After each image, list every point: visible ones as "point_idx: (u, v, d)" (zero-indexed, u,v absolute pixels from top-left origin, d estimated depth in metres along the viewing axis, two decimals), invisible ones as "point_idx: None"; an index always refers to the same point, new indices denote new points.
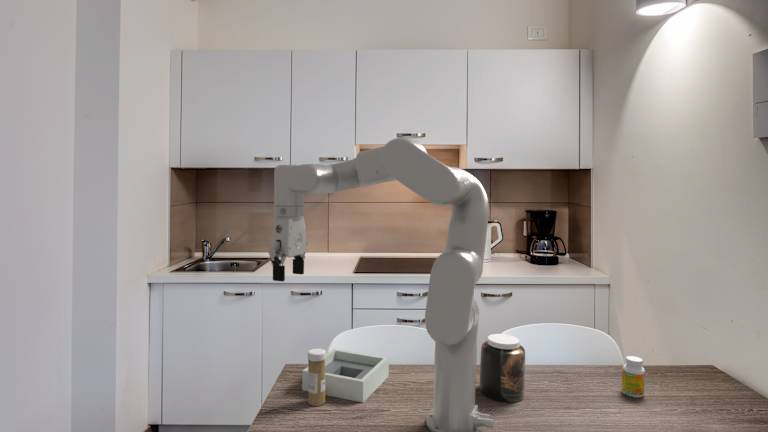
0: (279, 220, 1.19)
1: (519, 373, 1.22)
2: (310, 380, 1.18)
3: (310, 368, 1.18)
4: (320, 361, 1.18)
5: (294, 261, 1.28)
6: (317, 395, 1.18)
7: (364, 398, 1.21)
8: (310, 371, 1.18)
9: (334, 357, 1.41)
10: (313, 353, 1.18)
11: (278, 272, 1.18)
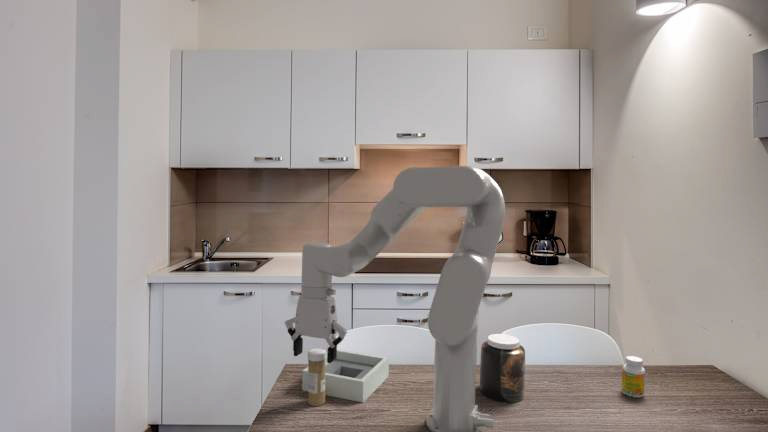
0: (331, 301, 1.17)
1: (519, 373, 1.22)
2: (310, 380, 1.18)
3: (310, 368, 1.18)
4: (320, 361, 1.18)
5: (297, 342, 1.20)
6: (317, 395, 1.18)
7: (364, 398, 1.21)
8: (310, 371, 1.18)
9: None
10: (313, 353, 1.18)
11: (336, 352, 1.18)
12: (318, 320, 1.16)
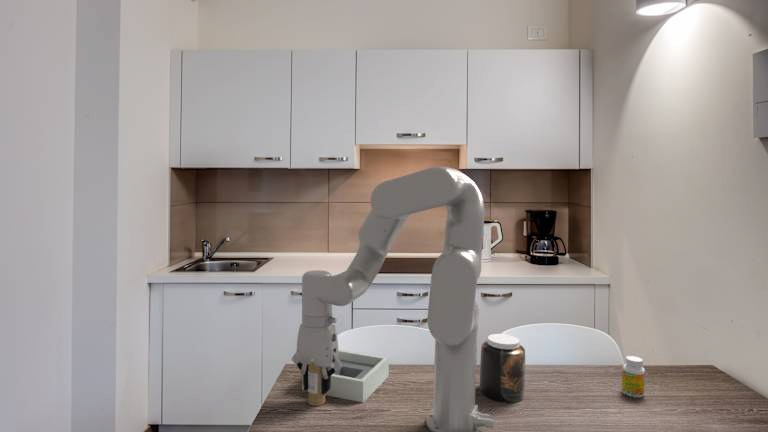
0: (332, 329, 1.17)
1: (519, 373, 1.22)
2: (310, 380, 1.18)
3: (310, 368, 1.18)
4: None
5: (307, 377, 1.20)
6: (316, 395, 1.18)
7: (364, 398, 1.21)
8: (310, 371, 1.18)
9: None
10: None
11: (330, 382, 1.19)
12: (319, 349, 1.16)
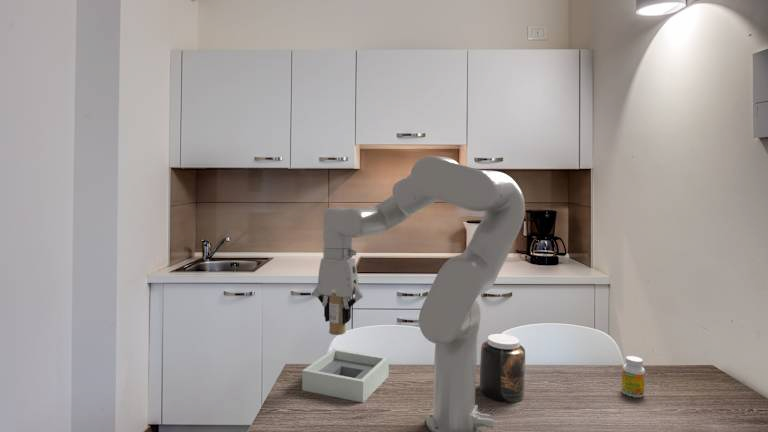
0: (352, 261, 1.24)
1: (519, 373, 1.22)
2: (331, 310, 1.25)
3: (331, 299, 1.24)
4: None
5: (328, 308, 1.26)
6: (338, 325, 1.24)
7: (364, 398, 1.21)
8: (331, 302, 1.24)
9: (334, 357, 1.41)
10: None
11: (350, 313, 1.26)
12: (341, 280, 1.23)
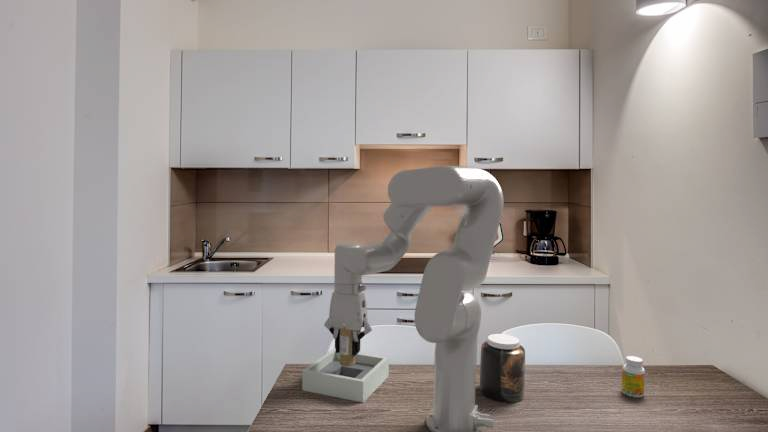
0: (362, 296, 1.29)
1: (519, 373, 1.22)
2: (341, 343, 1.30)
3: (342, 332, 1.30)
4: None
5: (339, 340, 1.31)
6: (348, 357, 1.29)
7: (364, 398, 1.21)
8: (342, 335, 1.30)
9: (334, 357, 1.41)
10: None
11: (359, 345, 1.31)
12: (351, 314, 1.28)
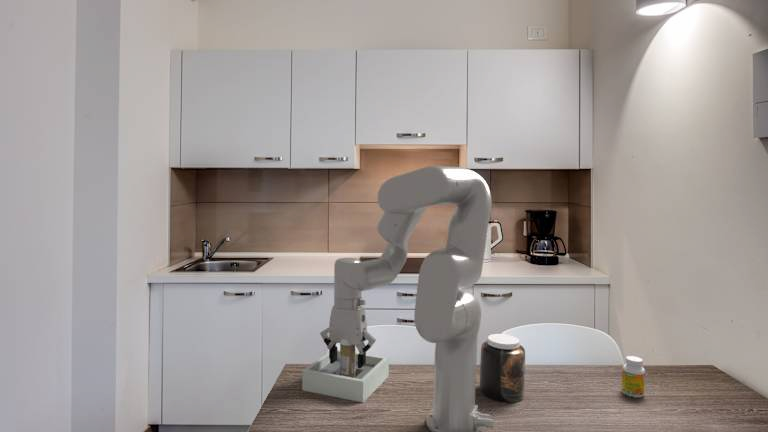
0: (362, 310, 1.29)
1: (519, 373, 1.22)
2: (342, 362, 1.30)
3: (342, 352, 1.30)
4: (351, 345, 1.29)
5: (333, 351, 1.32)
6: (348, 376, 1.30)
7: (364, 398, 1.21)
8: (342, 354, 1.30)
9: None
10: None
11: (365, 358, 1.30)
12: (350, 328, 1.28)
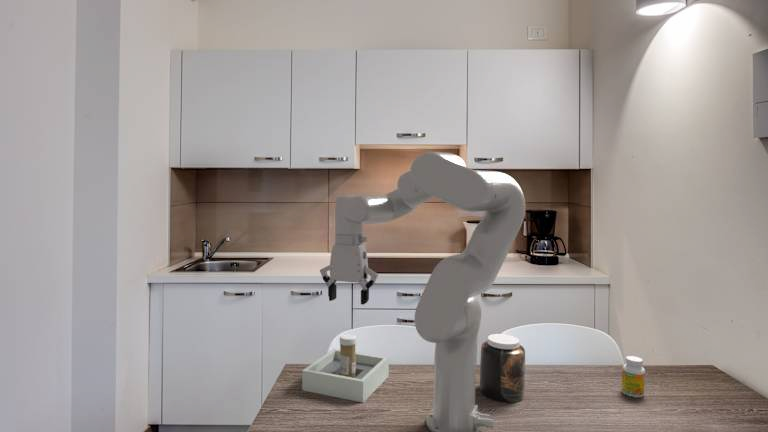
0: (363, 247, 1.28)
1: (519, 373, 1.22)
2: (342, 362, 1.30)
3: (342, 352, 1.30)
4: (351, 345, 1.29)
5: (332, 288, 1.31)
6: (348, 376, 1.30)
7: (364, 398, 1.21)
8: (342, 354, 1.30)
9: (334, 357, 1.41)
10: (345, 338, 1.29)
11: (368, 294, 1.29)
12: (351, 265, 1.27)
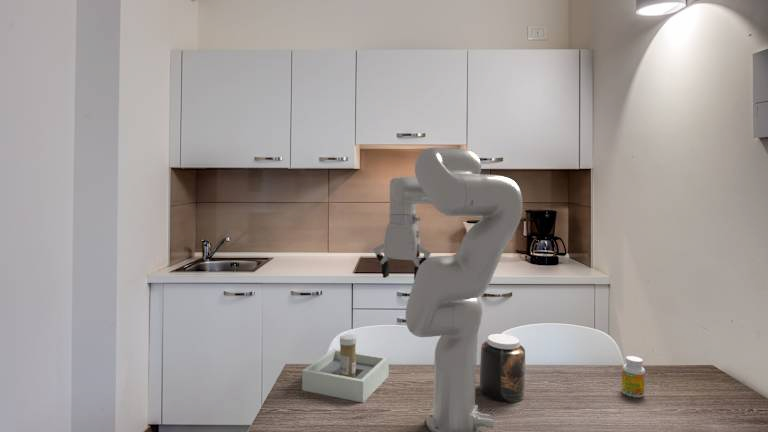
0: (416, 227, 1.35)
1: (519, 373, 1.22)
2: (342, 362, 1.30)
3: (342, 352, 1.30)
4: (351, 345, 1.29)
5: (386, 266, 1.39)
6: (348, 376, 1.30)
7: (364, 398, 1.21)
8: (342, 354, 1.30)
9: (334, 357, 1.41)
10: (345, 338, 1.29)
11: None
12: (406, 243, 1.34)
